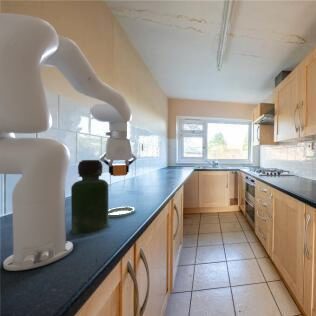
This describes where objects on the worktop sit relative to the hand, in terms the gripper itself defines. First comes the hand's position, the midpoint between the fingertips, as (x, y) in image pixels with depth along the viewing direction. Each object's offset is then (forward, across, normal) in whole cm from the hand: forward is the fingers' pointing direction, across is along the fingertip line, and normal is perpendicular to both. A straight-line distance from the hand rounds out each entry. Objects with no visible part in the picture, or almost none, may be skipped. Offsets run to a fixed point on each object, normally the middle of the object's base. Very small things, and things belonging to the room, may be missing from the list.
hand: (119, 174), depth 86 cm
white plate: (+18, 0, -4) cm, 18 cm away
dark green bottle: (+18, -11, -16) cm, 27 cm away
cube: (0, 0, 0) cm, 0 cm away
